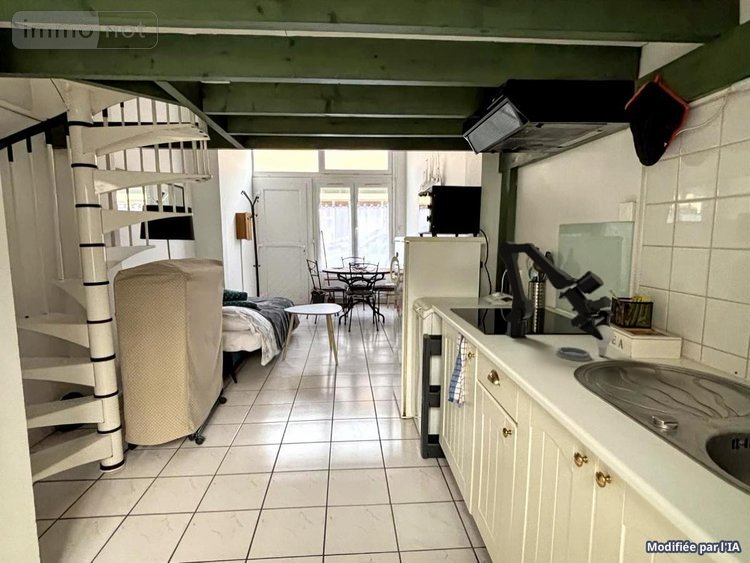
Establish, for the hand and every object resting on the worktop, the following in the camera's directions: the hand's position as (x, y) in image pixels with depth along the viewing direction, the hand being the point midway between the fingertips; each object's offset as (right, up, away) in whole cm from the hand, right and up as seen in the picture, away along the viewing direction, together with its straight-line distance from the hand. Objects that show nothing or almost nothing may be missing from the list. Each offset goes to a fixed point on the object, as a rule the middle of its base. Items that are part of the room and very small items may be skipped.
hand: (607, 338), depth 137 cm
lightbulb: (-1, -7, +2) cm, 7 cm away
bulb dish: (-11, -6, +1) cm, 13 cm away
